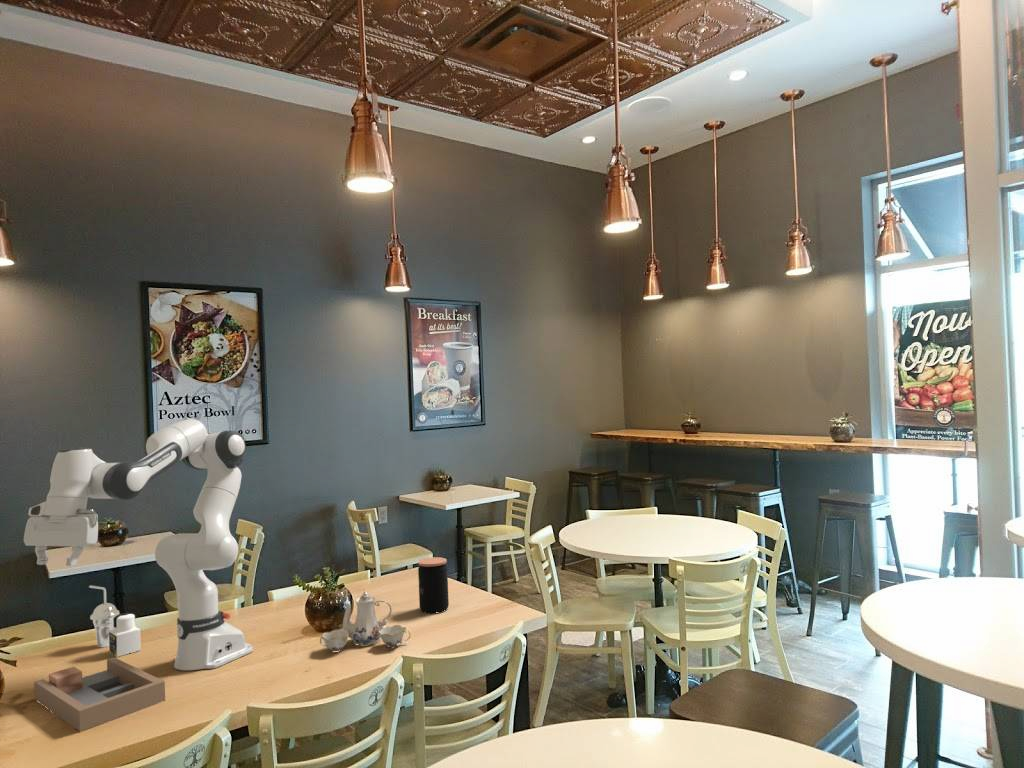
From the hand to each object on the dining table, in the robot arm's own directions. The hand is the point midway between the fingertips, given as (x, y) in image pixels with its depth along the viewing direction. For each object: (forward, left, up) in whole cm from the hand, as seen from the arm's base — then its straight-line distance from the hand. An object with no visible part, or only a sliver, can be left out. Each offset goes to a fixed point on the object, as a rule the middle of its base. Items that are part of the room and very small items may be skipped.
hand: (56, 565), depth 167 cm
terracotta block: (-6, -16, -37) cm, 41 cm away
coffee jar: (-114, +19, -39) cm, 122 cm away
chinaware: (-77, +25, -39) cm, 90 cm away
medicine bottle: (-31, -39, -39) cm, 63 cm away
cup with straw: (-30, -52, -39) cm, 72 cm away
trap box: (-11, -6, -39) cm, 41 cm away
